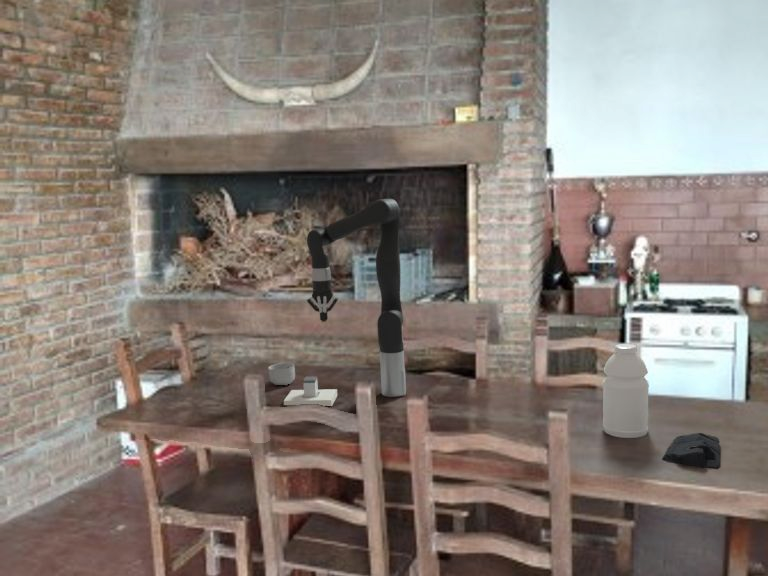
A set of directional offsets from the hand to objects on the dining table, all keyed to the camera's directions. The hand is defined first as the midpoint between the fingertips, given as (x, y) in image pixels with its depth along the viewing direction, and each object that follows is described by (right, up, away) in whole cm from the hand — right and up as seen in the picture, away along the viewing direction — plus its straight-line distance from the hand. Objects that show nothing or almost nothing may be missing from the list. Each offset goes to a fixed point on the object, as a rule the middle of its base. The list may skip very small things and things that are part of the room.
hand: (324, 321), depth 303 cm
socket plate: (-4, -30, -15) cm, 34 cm away
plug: (-4, -30, -15) cm, 34 cm away
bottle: (+101, -33, -63) cm, 123 cm away
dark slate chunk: (+115, -36, -83) cm, 146 cm away
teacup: (-18, -27, +12) cm, 34 cm away
